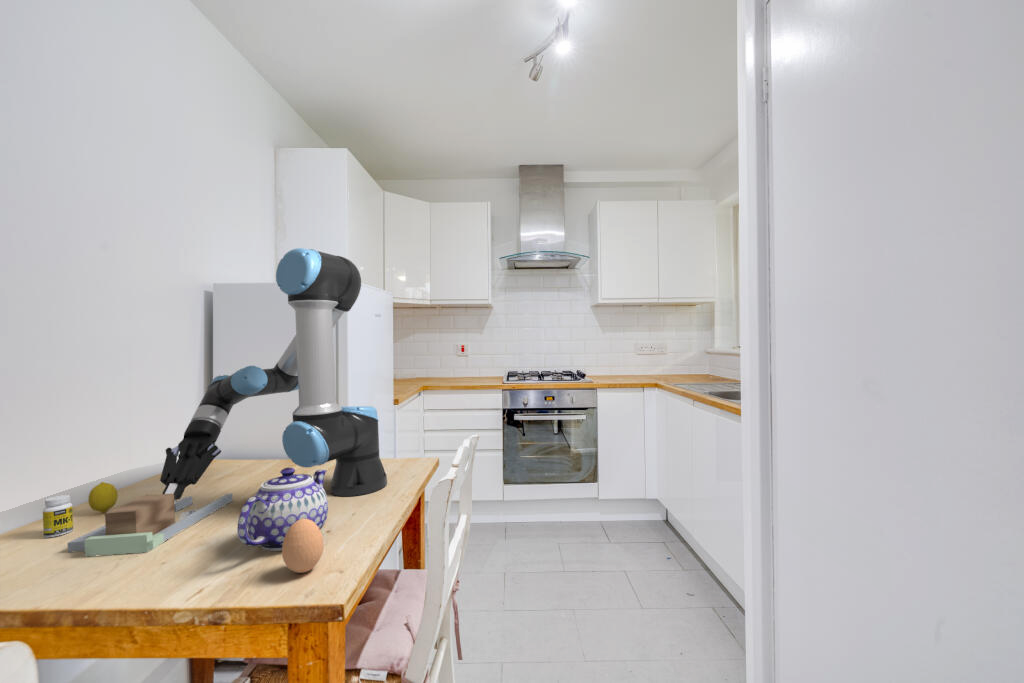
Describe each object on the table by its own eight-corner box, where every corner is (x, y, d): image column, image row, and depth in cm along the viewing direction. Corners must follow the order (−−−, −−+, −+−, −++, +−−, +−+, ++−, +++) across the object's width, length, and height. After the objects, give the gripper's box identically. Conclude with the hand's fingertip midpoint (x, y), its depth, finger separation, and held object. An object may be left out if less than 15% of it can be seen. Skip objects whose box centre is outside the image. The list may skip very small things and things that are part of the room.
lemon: (114, 507, 117) (113, 477, 117) (120, 511, 114) (119, 480, 114) (86, 514, 113) (85, 483, 113) (91, 518, 110) (90, 486, 110)
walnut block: (148, 530, 100) (146, 495, 100) (175, 528, 101) (174, 493, 101) (106, 552, 89) (104, 513, 89) (137, 550, 90) (135, 511, 90)
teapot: (274, 574, 77) (270, 489, 77) (204, 568, 80) (201, 486, 81) (357, 517, 101) (354, 453, 101) (301, 515, 105) (298, 452, 105)
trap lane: (163, 505, 117) (162, 492, 117) (232, 500, 118) (232, 487, 118) (53, 559, 87) (52, 541, 87) (147, 552, 88) (146, 535, 88)
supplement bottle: (53, 538, 98) (52, 501, 98) (37, 538, 99) (36, 500, 99) (78, 529, 103) (77, 494, 103) (63, 529, 104) (61, 493, 104)
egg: (309, 582, 74) (306, 527, 74) (274, 580, 75) (271, 526, 75) (332, 562, 80) (329, 512, 80) (299, 561, 81) (297, 512, 81)
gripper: (237, 432, 121) (200, 517, 105) (188, 434, 120) (143, 520, 104) (224, 416, 116) (183, 503, 99) (173, 419, 115) (123, 507, 99)
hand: (163, 512), depth 102 cm, fingers closed
